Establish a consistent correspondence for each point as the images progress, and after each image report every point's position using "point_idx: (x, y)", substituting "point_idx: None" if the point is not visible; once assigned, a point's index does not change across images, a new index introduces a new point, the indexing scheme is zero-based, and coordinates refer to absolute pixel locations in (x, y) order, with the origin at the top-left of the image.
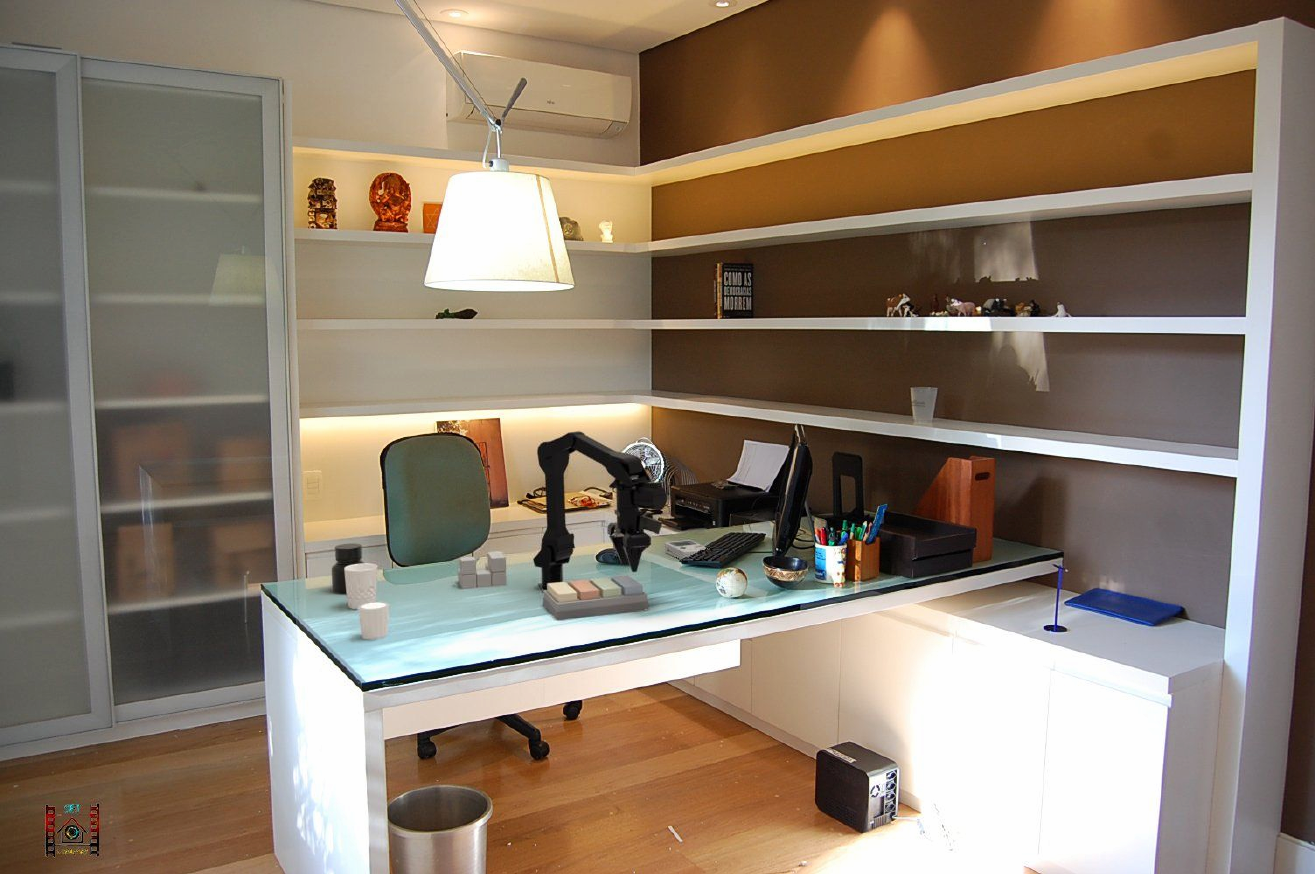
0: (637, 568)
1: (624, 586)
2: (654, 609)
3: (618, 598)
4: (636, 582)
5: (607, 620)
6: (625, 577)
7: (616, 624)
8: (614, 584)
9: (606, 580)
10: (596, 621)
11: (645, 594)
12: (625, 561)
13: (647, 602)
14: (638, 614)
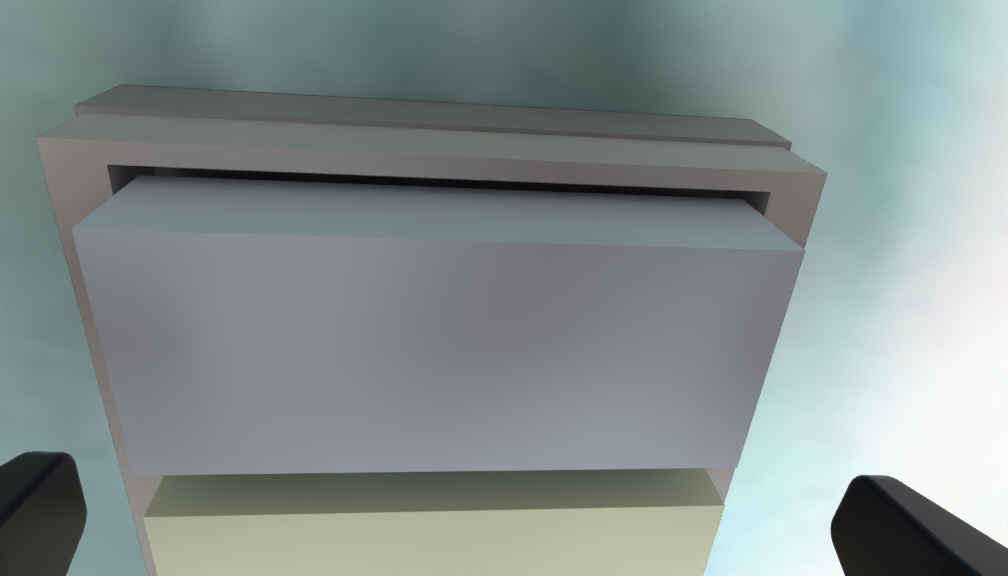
0: (957, 518)
1: (689, 459)
2: (778, 47)
3: (727, 469)
4: (592, 266)
5: (791, 490)
6: (218, 312)
7: (908, 466)
8: (540, 527)
9: (310, 557)
10: (764, 547)
11: (808, 190)
12: (41, 501)
13: (787, 145)
14: (815, 255)
